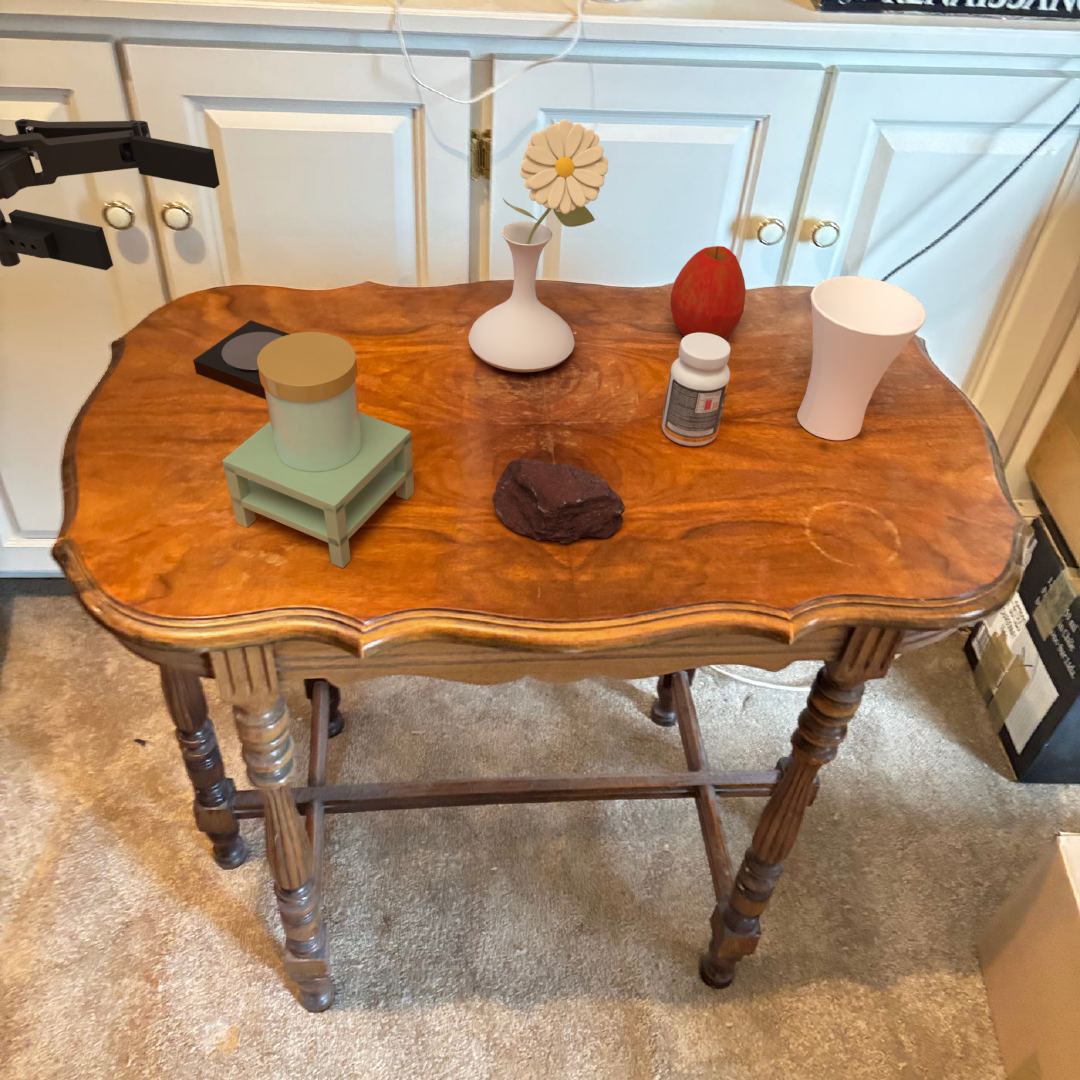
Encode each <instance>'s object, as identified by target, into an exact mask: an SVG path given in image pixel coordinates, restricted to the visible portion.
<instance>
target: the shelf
mask: <svg viewBox="0 0 1080 1080" xmlns="http://www.w3.org/2000/svg"><path fill="white" fill-rule="evenodd" d="M359 419H360V429H361V440H362V445H361V449H360V451H359V453H358V454H357V456H356V457H355V458H354V459H353V460H351V461H350V462H349V463H347V464H345V465H343V466H341V467H339V468H336V469H333V470H328V471H322V472H307V471H301V470H297V469H294V468H292V467H289V466H288V465H286V464H284V463H283V462H282V461H281V460H280V459H279V457H278V456H277V454H276V450H275V445H274V439H273V434H272V428H271V423H270V420H269V421H268V422H266V424H264V425H263V426H262V427H261V428H259V429H258V430H257V431H256V432H255V433H253V434H252V435H251V436H249V437H248V439H246V440H245V441H244V442H242V443H241V444H240V445H238V446H237V447H236V448H235V449H234V450H233V451H232V452H230V453H228V455H226V456H225V457H224V458H223V459H222V460H221V462H222V468H223V472H224V475H225V480H226V483H227V488H228V492H229V498H230V501H231V505H232V509H233V514H234V518H235V523H236V524H237V525H240V526H242V527H244V528H247V529H248V528H250V526H251V525H252V524H253V523H255V522H256V521H257V516H256V514H259V515H261V516H263V517H266V518H267V519H271V520H273V521H275V522H277V523H280V524H283V525H284V526H287V527H289V528H291V529H294V530H297V531H299V532H301V533H303V534H305V535H308V536H311V537H313V538H316V539H318V540H320V541H323V542H325V543H327V544H328V551H329V556H330V563H331V564H332V565H334V566H336V567H338V568H341V569H344V568H345V567H346V566H347V565H348V564H349V563H350V561H351V560H352V558H351V550H350V542H349V539H350V538H351V537H352V536H353V535H354V534H355V533H356V532H357V531H358V530H359V529H360V528H361V527H362V526H363V525H364V524H365V523H366V522H367V521H368V520H369V519H370V518H371V517H372V516H373V515H374V514H375V513H376V511H378V509H379V508H380V507H381V506H382V505H384V503H385V502H386V501H387V500H388V499H389V498H390V497H391V495H393V494H394V493H395V496H396V497H398V498H401V499H403V500H406V501H408V500H409V499H410V498H411V497H412V496H413V495H414V493H415V481H414V467H413V466H414V464H413V463H414V460H413V445H412V444H413V442H412V441H413V440H412V431H411V430H409V429H406V428H404V427H400V426H398V425H395V424H393V423H390V422H387V421H384V420H381V419H379V418H376V417H374V416H371V415H368V414H366V413H363V412H360V411H359Z"/></svg>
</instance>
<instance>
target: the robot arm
mask: <svg viewBox="0 0 1080 1080" xmlns="http://www.w3.org/2000/svg"><path fill="white" fill-rule="evenodd" d="M14 125H15V129H16V131H17V133H15V134H11V135H5V134H2V133H0V200H3V199H4V200H9V199H10V198H12V197H14V196H15V195H16V194H17V193H18V192H19V191H21V190H24V189H26V188H31V187H40V186H47V185H53V184H55V183H56V181H57V179H58V178H60V177H67V176H77V175H85V174H96V173H104V172H113V171H122V170H130V169H131V170H132V169H137V170H138V173H139V175H143V176H146V177H147V176H148V177H152V178H153V177H154V178H158V179H163V180H169V181H174V182H179V183H182V184H183V183H184V184H188V185H195V186H199V187H205V188H209V189H216V188H218V187H219V186H220V185H221V183H220V177H219V173H218V168H217V163H216V158H215V157H216V156H215V152H214V151H215V150H214V149H213V148H208V147H203V146H196V145H193V144H187V143H181V142H176V141H169V140H165V139H159V138H154V137H152V136H151V132H150V131H151V130H150V128H149V124H148V121H145V120H136V119H130V120H106V121H105V120H97V121H96V120H94V121H91V120H88V121H87V120H85V121H45V120H44V121H43V120H37V119H36V120H35V119H28V118H20V119H17V120H16V121H14ZM32 157H33V158H34V160H36V161H39V164H40V167H41V171H39V172H36V170H35V166H34V163H33V161H32ZM7 215H8V217H9V220H10V222H9V221H7V219H6V217H5V214H4V213H3V211H2V209H1V208H0V265H1V267H6V268H11V267H14V266H18V265H19V264H20V263H21V259H20V256H19V254H20V255H26V256H30V257H34V258H39V259H51V260H55V261H59V262H65V263H69V264H74V265H79V266H84V267H89V268H94V269H98V270H102V271H108V270H109V269H110V268H112V267H113V266H114V262H113V259H112V256H111V252H110V249H109V245H108V242H107V239H106V235H105V231H104V228H103V226H100V225H99V226H98V225H93V224H90V223H83V222H80V221H74V220H71V219H64V218H60V217H55V216H51V215H45V214H41V213H37V212H36V213H35V212H31V211H26V210H21V209H14V210H13V211H11V212H9V213H7Z"/></svg>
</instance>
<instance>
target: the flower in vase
mask: <svg viewBox="0 0 1080 1080" xmlns="http://www.w3.org/2000/svg"><path fill="white" fill-rule="evenodd" d="M599 143H600V136H599V135H598V134H597V133H595V132H594V130H592V129H587V128H586V127H584V126H583V125H582V124H581V123H575V124H574V123H573V122H571V121H569V120H568V119H564V118H563V119H561V120H560V121H559V122H556V123H553V124H549V125H547V126H546V129H540V130H539V131H538V132H534V133H532V134H531V136H530V140H529V141H528V143H527V148H526V150H525V152H524V153H523V157H522V158H523V160H522V161H521V163H520V167H521V168H520V170H519V176H520V177H521V178H522V179H524V182H523V186H524V188H526V189H527V190H530V191H529V194H528V195H529V199H530V200H531V201H533V202H536V204H538V205H542V206H543V207H544V208H545V209H546V210H545V211H544V212H543V213H542V215H541V216H540V217H539V218H538V219H537V218H536V217H535V216H534V215H533V214H531V212H529V211H527V210H525V209H523V208H520V207H517V206H515V205H512V204H511V203H509V202H508V201H506V199H505V198H503V197H502V200H503V202H504V204H506V205H507V206H509V207H510V208H511V209H513V210H515V211H516V212H518V213H519V214H520V213H521V214H522V215H525V216H527V217H529V218H532V219H533V220H536V222H533V221H514V222H511V223H508V224H506V225H505V226H503V228H501V237H502V238H503V239H504V240H505V241H506V243H507V245H508V247H509V249H510V254H511V258H512V265H513V287H512V291H511V295H510V297H509V298H508V299H507V300H505V301H504V302H502V303H499V304H498V305H495V306H494V307H492V308H490V309H488V310H487V311H485V312H484V313H483V314H482V315H480V316H479V317H478V318H477V319H476V320H475V321H474V323H473V324H472V327H471V328H470V330H469V333H468V343H469V346H470V347H471V349H472V351H473V352H474V353H475V355H476V356H477V357H478V358H479V359H481V361H483V362H484V363H486V364H488V365H489V366H492V367H494V368H497V369H500V370H503V371H508V372H515V373H533V372H534V373H535V372H541V371H545V370H549V369H552V368H555V367H556V366H558V365H560V364H562V363H563V362H564V361H565V360H566V359H567V358H568V357H570V355H571V353H572V352H573V351H574V349H575V343H576V341H575V337H574V334H573V331H572V328H571V327H570V325H569V324H568V323H567V322H566V321H565V320H564V319H563V318H562V317H561V316H560V314H557V312H555V311H554V310H552V309H551V308H549V307H547V306H546V305H544V304H543V303H541V302H540V301H539V299H538V296H537V292H536V277H537V271H538V264H539V261H540V257H541V254H542V252H543V250H544V248H545V247H546V245H547V244H548V243H549V242H550V241H551V239H552V237H553V232H552V230H551V228H549V227H547V226H546V225H544V224H542V222H543V221H544V219H545V218H546V217H547V216H548V215H549V213H550V212H551V210H553V213H554V215H555V216H556V218H557V219H558V221H559V222H560V223H561V224H562V225H563V226H565V227H569V228H573V227H574V228H575V227H579V226H585V225H587V224H590V223H592V222H594V221H596V219H595V217H594V215H593V214H592V212H591V211H590V210H589V209H588V208H587V207H586V205H587V204H589V203H591V202H593V201H596V200H597V199H598V198H599V193H600V190H601V189H600V188H601V187H603V186H604V184H605V178H606V177H605V175H606V174H607V173H608V171H609V159H608V158H607V157H605V156H604V152H605V151H604V150H605V149H604V147H603V146H602V145H601V144H599Z"/></svg>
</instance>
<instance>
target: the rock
mask: <svg viewBox="0 0 1080 1080" xmlns="http://www.w3.org/2000/svg"><path fill="white" fill-rule="evenodd" d="M492 503H493V507H494V510H495V513H496V515H497V517H498V518H499V520H500V521H502V522H503V524H504V525H505V526H507V528H509V529H510V530H511V531H513V532H515V533H517V534H519V535H523V536H527V537H528V536H529V537H531V538H533V539H535V540H536V541H546V540H550V541H555V542H556V541H557V542H559V543H561V544H568V545H569V544H571V543H573V542H575V541H578V540H579V539H581V538H587V537H592V538H595V537H597V538H602V539H607V538H609V537H611V536H612V535H614V533H617V532H618V531H619V529H620V528H621V527H622V525H623V524H624V517H623V516H622V515H623V514H624V513H625V511H626V506H625V504H624V502H623V499H622V498H621V496H620V495H619V494H618V493H617V492H616V491H614V490H613V489H612V487H611V486H610V484H609V483H608V482H607V481H606V480H605V479H603V478H602V477H600V476H598V475H596V474H594V473H592V472H590V471H589V470H587V469H584V468H580V467H577V466H575V465H570V464H568V463H565V462H563V463H562V462H560V463H557V464H550V463H547V462H545V461H541V460H539V459H534V458H517V459H513V460H511V461H510V462H508V463H507V465H506V466H505V468H504V470H503V471H502V473H501V475H500V477H499V479H498V480H497V482H496V485H495V490H494V492H493V495H492Z"/></svg>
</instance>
